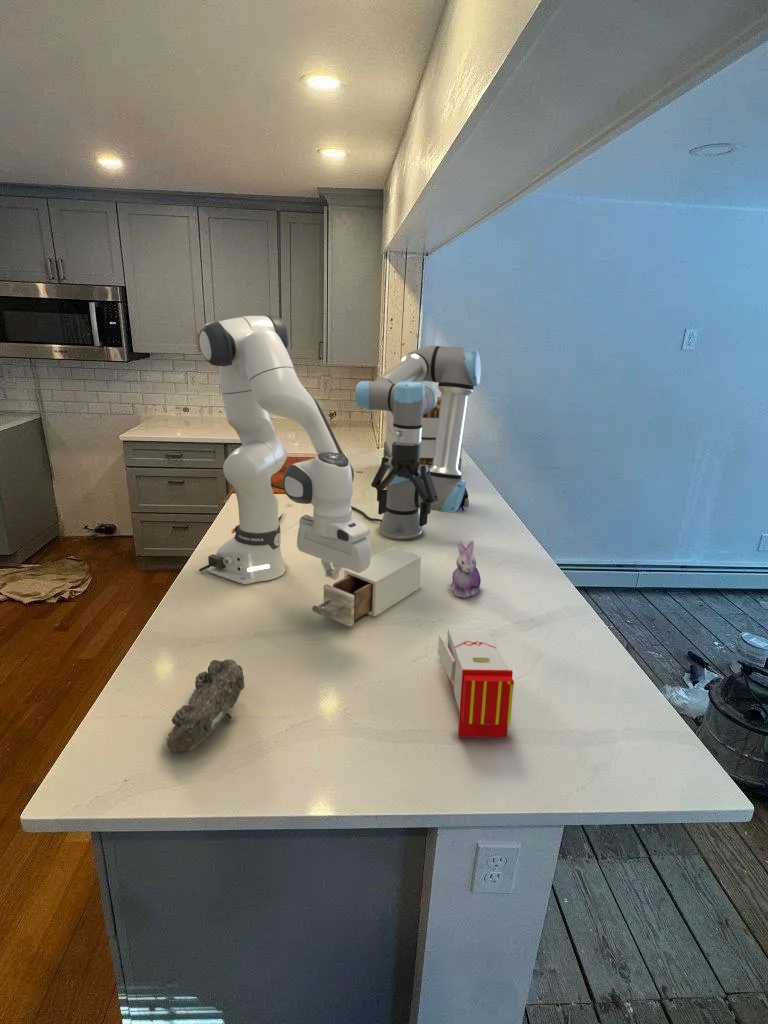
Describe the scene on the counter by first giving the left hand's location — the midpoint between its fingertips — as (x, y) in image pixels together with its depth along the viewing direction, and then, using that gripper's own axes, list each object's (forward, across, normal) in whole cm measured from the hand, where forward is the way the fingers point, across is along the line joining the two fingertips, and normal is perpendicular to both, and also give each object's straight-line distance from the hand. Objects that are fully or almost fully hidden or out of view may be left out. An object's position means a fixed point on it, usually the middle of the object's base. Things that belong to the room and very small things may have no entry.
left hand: (331, 577), depth 135 cm
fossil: (+14, +4, -39) cm, 41 cm away
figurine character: (+14, -22, +102) cm, 105 cm away
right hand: (-7, 0, +29) cm, 30 cm away
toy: (+14, +39, 0) cm, 41 cm away
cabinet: (+14, 0, +21) cm, 25 cm away
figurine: (+14, +16, +39) cm, 44 cm away
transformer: (+14, -61, +133) cm, 147 cm away
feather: (+14, -65, +45) cm, 80 cm away
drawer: (+13, 0, +9) cm, 16 cm away
